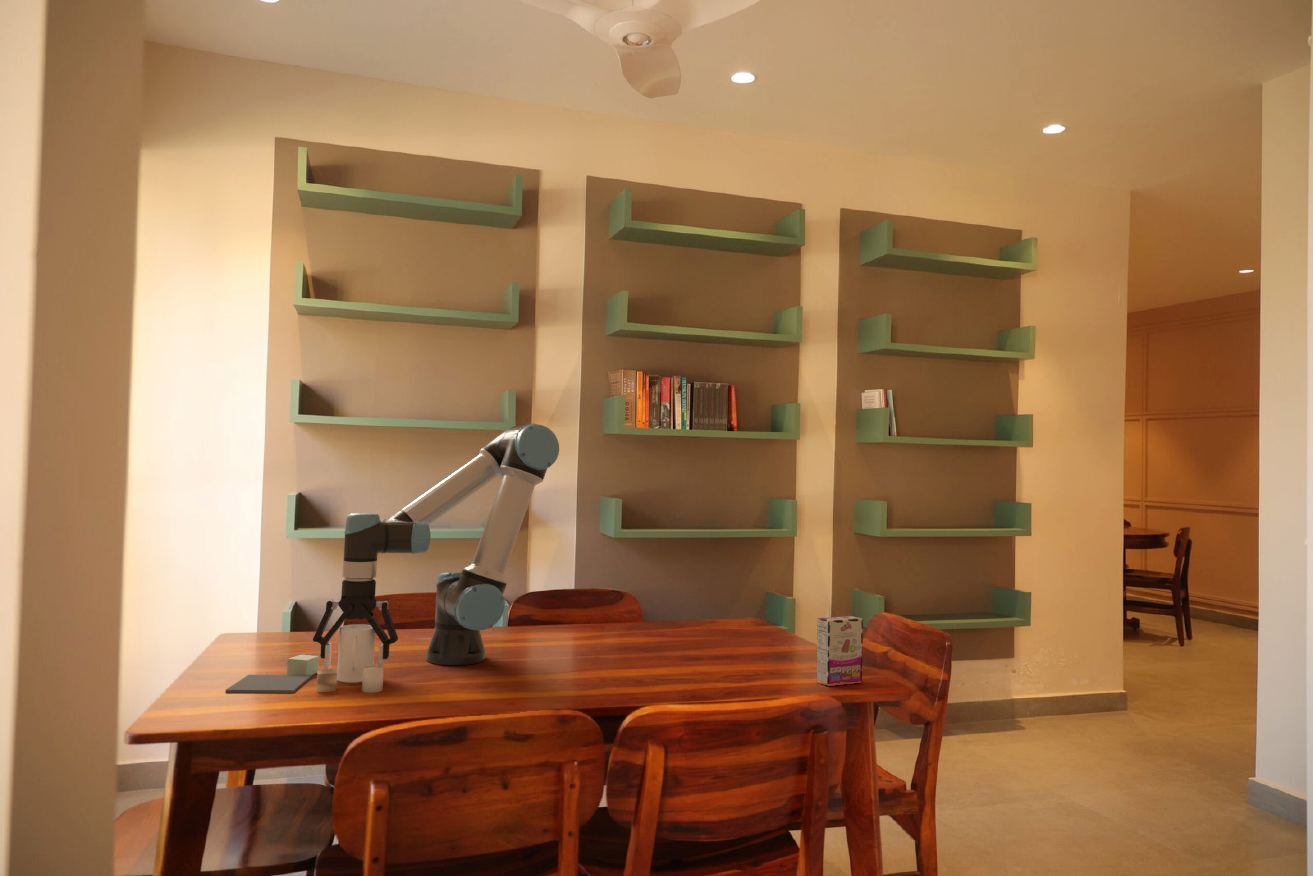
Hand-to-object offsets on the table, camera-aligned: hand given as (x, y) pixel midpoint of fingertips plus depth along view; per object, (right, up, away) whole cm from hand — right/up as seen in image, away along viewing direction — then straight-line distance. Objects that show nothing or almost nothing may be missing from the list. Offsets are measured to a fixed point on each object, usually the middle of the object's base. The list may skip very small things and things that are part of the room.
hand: (354, 672), depth 194 cm
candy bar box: (+117, -7, +15) cm, 118 cm away
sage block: (-14, -2, +4) cm, 14 cm away
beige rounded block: (+7, -2, -8) cm, 11 cm away
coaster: (-16, -1, -7) cm, 18 cm away
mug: (0, -2, 0) cm, 2 cm away
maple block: (-3, -1, -9) cm, 10 cm away
